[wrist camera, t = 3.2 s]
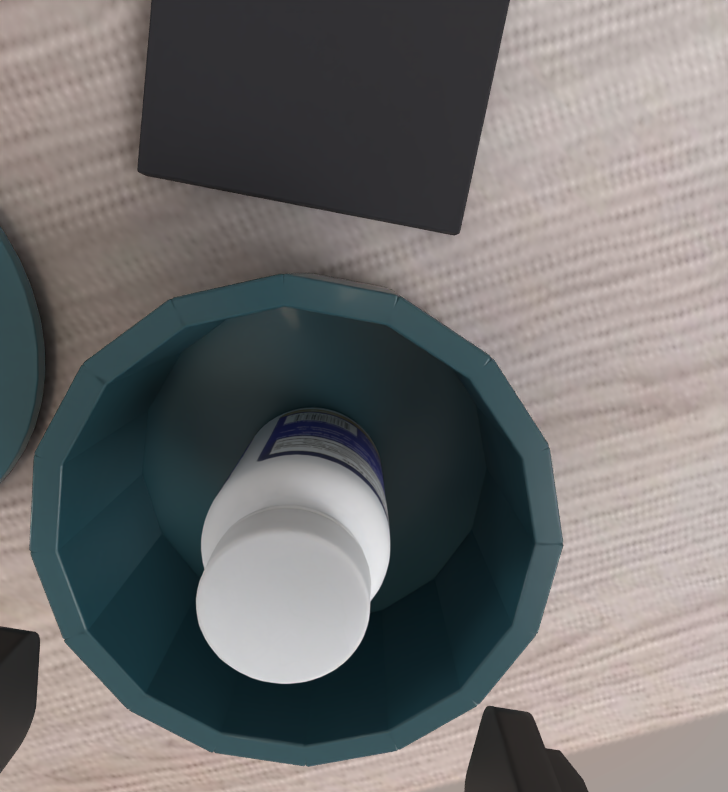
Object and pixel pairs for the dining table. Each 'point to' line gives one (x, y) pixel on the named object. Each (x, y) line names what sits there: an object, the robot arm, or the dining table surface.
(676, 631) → the dining table surface
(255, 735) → the pot
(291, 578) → the pill bottle
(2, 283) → the pot lid
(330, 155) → the plate
